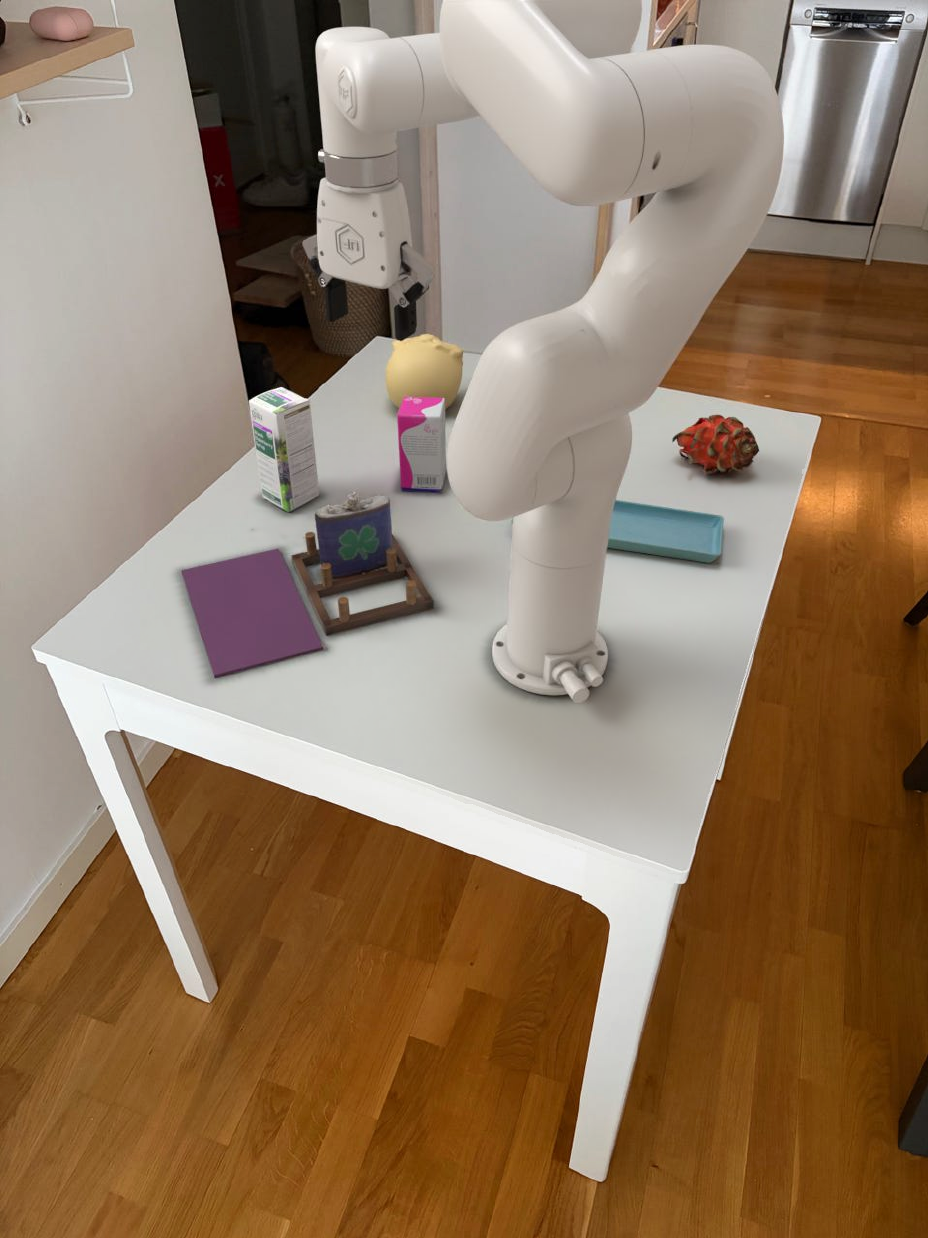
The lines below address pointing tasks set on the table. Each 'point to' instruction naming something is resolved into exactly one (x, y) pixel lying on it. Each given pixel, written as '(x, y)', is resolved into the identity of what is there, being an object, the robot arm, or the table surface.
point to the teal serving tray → (665, 531)
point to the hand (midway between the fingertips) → (371, 327)
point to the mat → (249, 612)
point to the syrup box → (284, 448)
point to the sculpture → (424, 369)
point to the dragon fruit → (718, 444)
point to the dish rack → (358, 581)
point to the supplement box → (422, 444)
